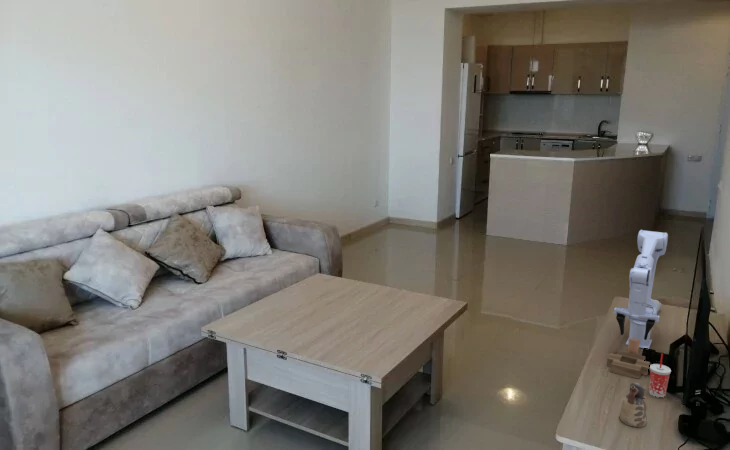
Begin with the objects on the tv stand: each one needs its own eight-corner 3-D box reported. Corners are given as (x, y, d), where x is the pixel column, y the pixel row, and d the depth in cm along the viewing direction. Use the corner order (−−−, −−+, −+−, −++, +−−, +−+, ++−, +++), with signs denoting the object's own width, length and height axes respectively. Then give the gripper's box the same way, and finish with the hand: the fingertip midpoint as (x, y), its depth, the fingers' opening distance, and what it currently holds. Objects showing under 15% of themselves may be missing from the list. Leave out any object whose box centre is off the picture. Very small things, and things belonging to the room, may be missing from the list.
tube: (653, 321, 230) (663, 303, 249) (640, 315, 232) (651, 297, 252) (647, 332, 232) (658, 313, 251) (634, 325, 234) (646, 307, 254)
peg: (627, 354, 208) (629, 337, 207) (638, 357, 206) (640, 339, 205) (626, 358, 206) (628, 340, 204) (636, 360, 204) (638, 342, 202)
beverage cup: (667, 400, 177) (672, 359, 174) (645, 395, 180) (650, 355, 177) (668, 392, 182) (673, 352, 179) (647, 387, 185) (652, 347, 182)
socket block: (611, 356, 207) (612, 348, 206) (650, 365, 200) (651, 357, 199) (604, 370, 196) (605, 362, 196) (645, 380, 189) (646, 372, 189)
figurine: (651, 422, 165) (655, 385, 162) (636, 430, 161) (641, 392, 159) (628, 411, 171) (632, 375, 168) (614, 418, 167) (618, 381, 164)
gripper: (613, 300, 199) (609, 335, 202) (659, 308, 192) (654, 345, 195) (617, 294, 205) (613, 328, 208) (661, 302, 197) (657, 337, 200)
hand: (633, 336), depth 202 cm, fingers open, 7 cm apart
